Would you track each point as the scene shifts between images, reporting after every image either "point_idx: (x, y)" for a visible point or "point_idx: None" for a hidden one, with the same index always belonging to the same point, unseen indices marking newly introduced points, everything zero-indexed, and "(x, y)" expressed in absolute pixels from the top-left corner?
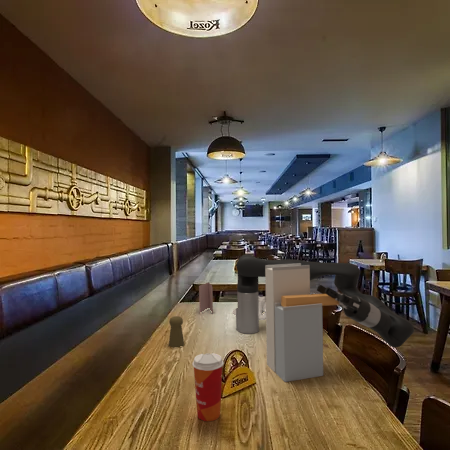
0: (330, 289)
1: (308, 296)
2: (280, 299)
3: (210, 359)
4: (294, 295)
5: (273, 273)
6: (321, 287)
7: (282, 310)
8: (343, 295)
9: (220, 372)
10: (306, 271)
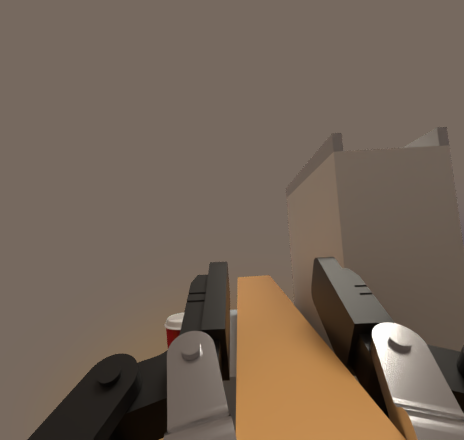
0: (209, 281)
1: (245, 296)
2: (298, 294)
3: (179, 317)
4: (271, 283)
5: (287, 206)
6: (318, 277)
7: (231, 310)
8: (105, 367)
9: (169, 336)
10: (326, 175)
